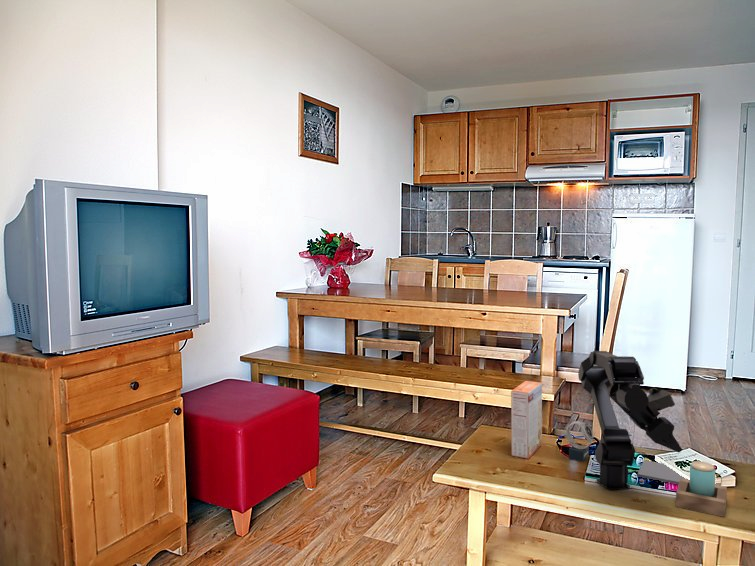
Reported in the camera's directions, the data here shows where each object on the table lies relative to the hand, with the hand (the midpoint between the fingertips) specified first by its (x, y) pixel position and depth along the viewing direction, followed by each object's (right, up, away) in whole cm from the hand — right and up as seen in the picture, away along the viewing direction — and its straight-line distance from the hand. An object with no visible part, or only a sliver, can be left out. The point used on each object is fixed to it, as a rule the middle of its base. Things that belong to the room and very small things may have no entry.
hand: (674, 445), depth 153 cm
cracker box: (-30, -11, +34) cm, 47 cm away
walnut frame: (+6, -14, -3) cm, 15 cm away
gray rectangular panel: (+8, -13, +13) cm, 20 cm away
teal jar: (+6, -14, -3) cm, 15 cm away
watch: (-15, -12, +28) cm, 34 cm away
